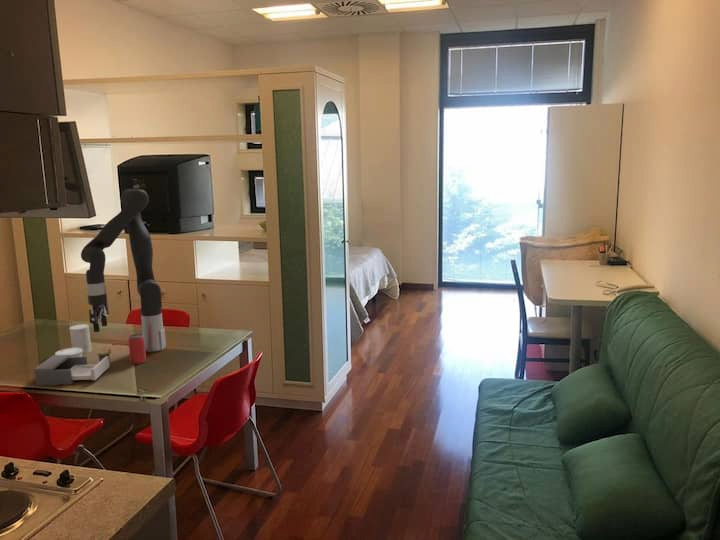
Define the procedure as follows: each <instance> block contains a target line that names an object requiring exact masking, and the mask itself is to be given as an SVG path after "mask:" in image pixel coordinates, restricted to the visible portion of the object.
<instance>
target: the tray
mask: <svg viewBox="0 0 720 540" xmlns="http://www.w3.org/2000/svg"><path fill="white" fill-rule="evenodd" d="M110 366H111V364H109V356H106V357H104V358H103V359H102V360H101V361H100V362H99V361H98V363H90V364H88V363H87V364H84V365H74V366H73V367H72V368H70V369H71V374H72V380H76V381H81V380H84V381H85V380H87V381H88V380H91V381H96V380H97V379H99V377H101V376H102V374H103V373H105V371H106V370H108V369H109V368H110Z"/></svg>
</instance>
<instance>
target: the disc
mask: <svg viewBox="0 0 720 540" xmlns="http://www.w3.org/2000/svg"><path fill="white" fill-rule="evenodd" d="M111 349H112V348H111V347H110V346H103V347H98V348H96V349H95V353H96V356H97V357H99V356H105V355H110V354H112V350H111Z"/></svg>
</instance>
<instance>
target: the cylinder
mask: <svg viewBox="0 0 720 540" xmlns="http://www.w3.org/2000/svg"><path fill="white" fill-rule="evenodd" d="M106 356H109V364H110V365H111V357H110V354H109V355H105V356H98V363H99V362H100V361H101V360H102V359H103V358H104V357H106Z"/></svg>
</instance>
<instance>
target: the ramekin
mask: <svg viewBox="0 0 720 540" xmlns="http://www.w3.org/2000/svg"><path fill="white" fill-rule="evenodd" d="M82 352H83V351H82V349H81V348H72V347H68V348H63V349H61V350H58V351H56V352H55V353H54V355H70V357H83V354H82Z"/></svg>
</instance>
